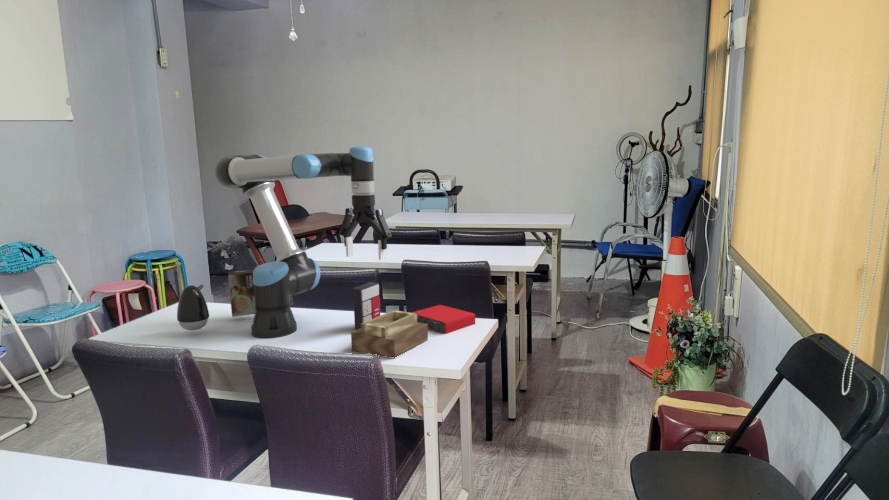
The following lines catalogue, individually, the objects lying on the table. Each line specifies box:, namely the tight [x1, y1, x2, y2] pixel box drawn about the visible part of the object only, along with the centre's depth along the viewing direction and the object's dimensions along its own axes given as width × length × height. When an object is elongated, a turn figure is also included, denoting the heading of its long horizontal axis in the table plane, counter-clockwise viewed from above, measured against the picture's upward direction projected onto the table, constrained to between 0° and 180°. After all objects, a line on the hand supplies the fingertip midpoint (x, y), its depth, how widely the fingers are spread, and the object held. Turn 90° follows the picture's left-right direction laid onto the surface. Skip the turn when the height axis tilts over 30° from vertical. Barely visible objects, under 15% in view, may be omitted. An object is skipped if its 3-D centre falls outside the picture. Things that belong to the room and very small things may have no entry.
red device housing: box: [411, 304, 476, 335], centre depth 204 cm, size 18×14×5 cm
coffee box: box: [227, 269, 255, 318], centre depth 222 cm, size 9×6×16 cm
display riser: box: [350, 309, 429, 359], centre depth 183 cm, size 16×18×9 cm
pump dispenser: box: [176, 284, 210, 331], centre depth 205 cm, size 10×10×15 cm
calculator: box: [351, 281, 381, 331], centre depth 202 cm, size 11×4×15 cm, turn 153°
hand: (365, 257), depth 199 cm, fingers open, 13 cm apart
